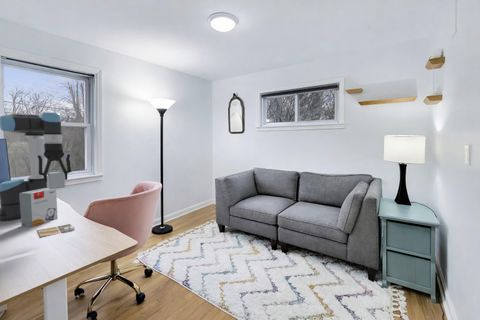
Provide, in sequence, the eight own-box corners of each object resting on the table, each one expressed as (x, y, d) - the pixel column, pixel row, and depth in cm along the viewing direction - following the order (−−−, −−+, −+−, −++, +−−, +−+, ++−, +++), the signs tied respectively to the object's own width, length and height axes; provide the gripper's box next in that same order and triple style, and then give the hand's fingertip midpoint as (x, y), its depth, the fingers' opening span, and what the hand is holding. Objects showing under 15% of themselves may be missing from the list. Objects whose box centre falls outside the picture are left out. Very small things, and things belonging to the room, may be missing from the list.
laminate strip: (57, 228, 132) (56, 226, 132) (70, 226, 137) (69, 223, 137) (61, 235, 124) (61, 232, 124) (75, 232, 128) (75, 229, 128)
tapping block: (48, 187, 126) (47, 172, 126) (62, 186, 131) (61, 171, 130) (50, 189, 122) (49, 173, 121) (64, 187, 126) (63, 172, 126)
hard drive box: (32, 229, 132) (29, 193, 130) (20, 228, 133) (17, 193, 131) (58, 219, 147) (56, 187, 145) (48, 219, 148) (46, 187, 146)
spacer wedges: (64, 230, 126) (63, 228, 126) (73, 228, 129) (73, 226, 129) (64, 231, 125) (64, 229, 125) (74, 229, 128) (74, 227, 128)
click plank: (37, 232, 126) (37, 230, 126) (56, 229, 132) (56, 226, 132) (40, 239, 118) (40, 236, 118) (60, 235, 123) (60, 233, 123)
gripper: (29, 143, 115) (33, 190, 117) (76, 142, 128) (79, 185, 130) (28, 143, 120) (31, 188, 122) (73, 142, 134) (76, 183, 136)
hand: (56, 186), depth 126 cm, fingers closed on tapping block, 6 cm apart
